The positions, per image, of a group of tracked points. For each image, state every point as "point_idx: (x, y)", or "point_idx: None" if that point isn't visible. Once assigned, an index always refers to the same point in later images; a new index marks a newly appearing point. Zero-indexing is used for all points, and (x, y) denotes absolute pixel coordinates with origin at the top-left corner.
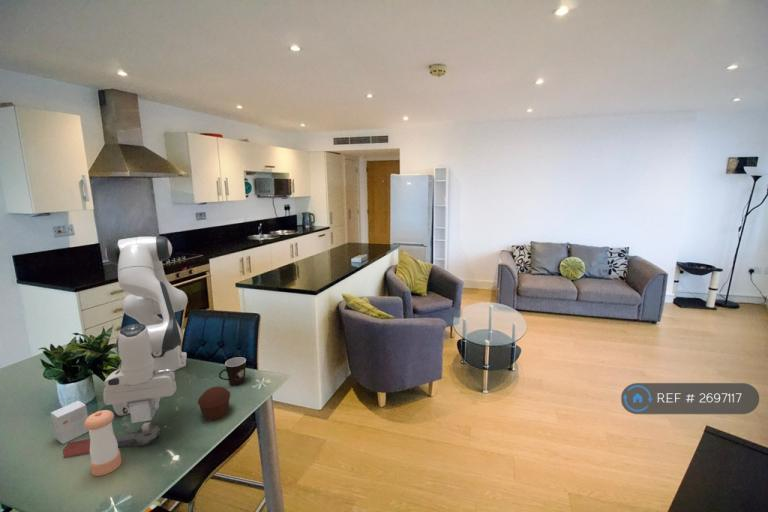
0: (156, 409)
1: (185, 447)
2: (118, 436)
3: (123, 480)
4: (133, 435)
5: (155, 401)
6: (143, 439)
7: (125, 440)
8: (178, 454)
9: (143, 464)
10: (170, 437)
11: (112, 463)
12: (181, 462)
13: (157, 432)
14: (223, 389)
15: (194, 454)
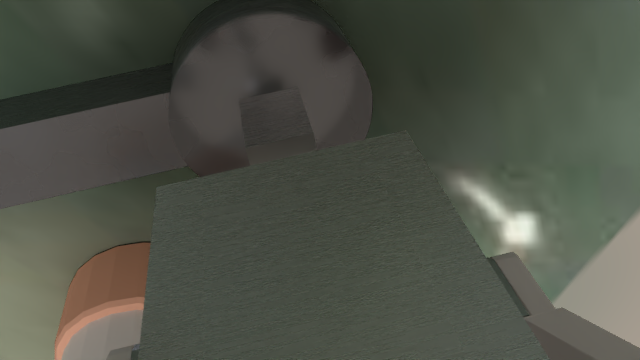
0: (410, 144)
1: (560, 163)
2: (2, 142)
3: None
4: (151, 130)
5: (470, 242)
6: None
7: (121, 177)
8: (528, 212)
9: None
10: (440, 66)
11: None
12: (551, 256)
13: (369, 116)
14: None
15: (611, 211)
